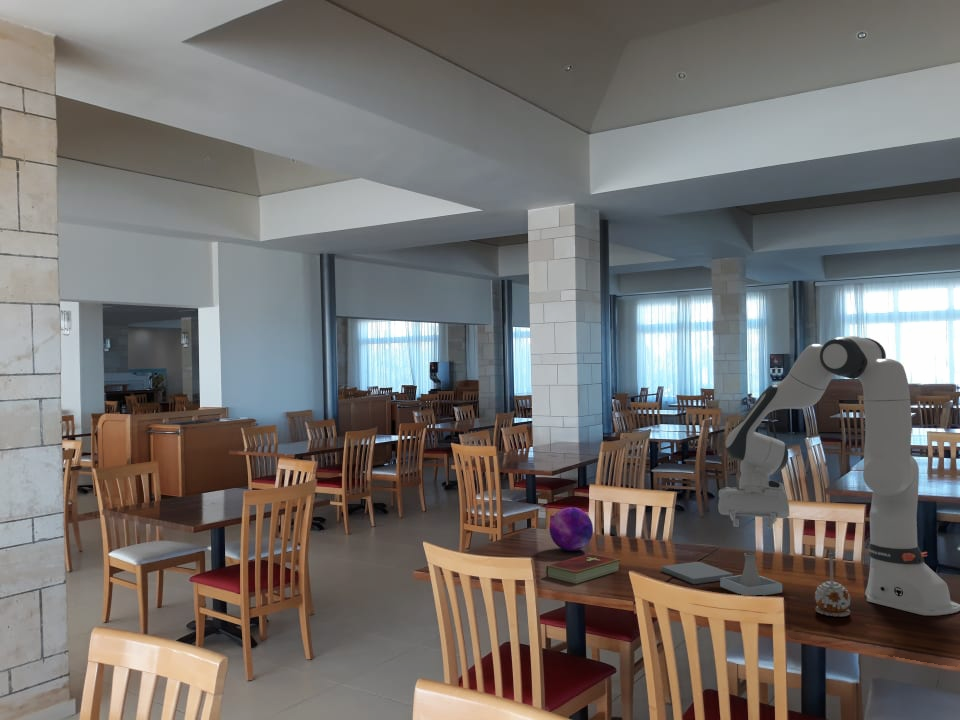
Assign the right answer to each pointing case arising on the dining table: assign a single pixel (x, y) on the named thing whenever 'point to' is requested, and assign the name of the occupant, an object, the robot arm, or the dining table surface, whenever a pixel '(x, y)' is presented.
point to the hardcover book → (582, 568)
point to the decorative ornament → (832, 597)
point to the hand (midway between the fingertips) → (752, 526)
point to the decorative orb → (571, 529)
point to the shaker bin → (765, 589)
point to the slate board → (696, 572)
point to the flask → (750, 572)
